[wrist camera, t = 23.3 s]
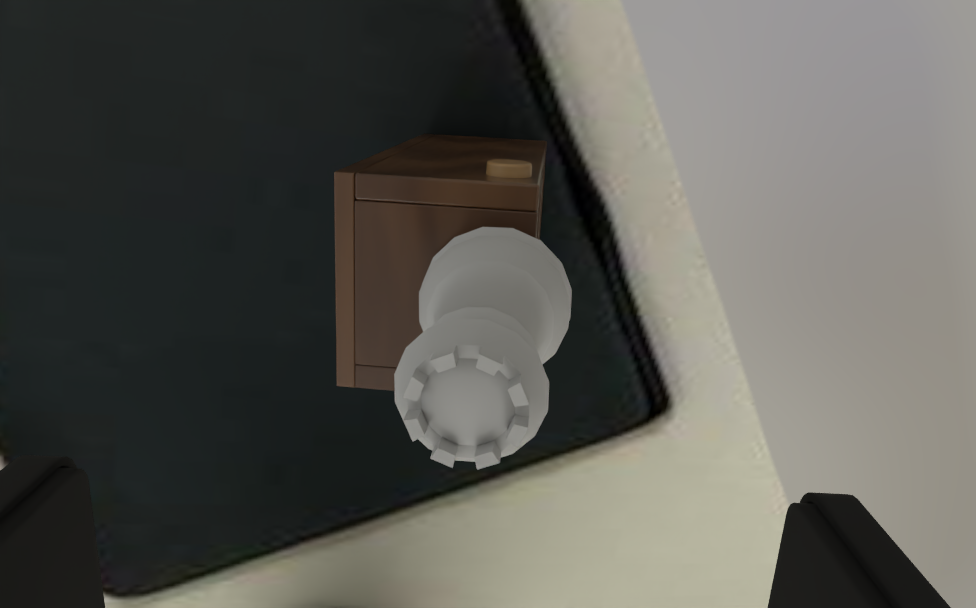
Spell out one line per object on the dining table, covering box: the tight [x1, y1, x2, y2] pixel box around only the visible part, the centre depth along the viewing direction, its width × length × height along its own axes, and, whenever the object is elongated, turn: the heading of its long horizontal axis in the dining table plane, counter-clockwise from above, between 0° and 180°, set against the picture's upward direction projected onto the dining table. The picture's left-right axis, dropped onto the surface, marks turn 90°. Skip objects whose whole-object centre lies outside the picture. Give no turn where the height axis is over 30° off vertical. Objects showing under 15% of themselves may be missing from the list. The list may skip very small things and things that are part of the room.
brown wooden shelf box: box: [334, 134, 547, 391], centre depth 29 cm, size 15×8×6 cm
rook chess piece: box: [394, 227, 572, 470], centre depth 18 cm, size 4×4×8 cm
